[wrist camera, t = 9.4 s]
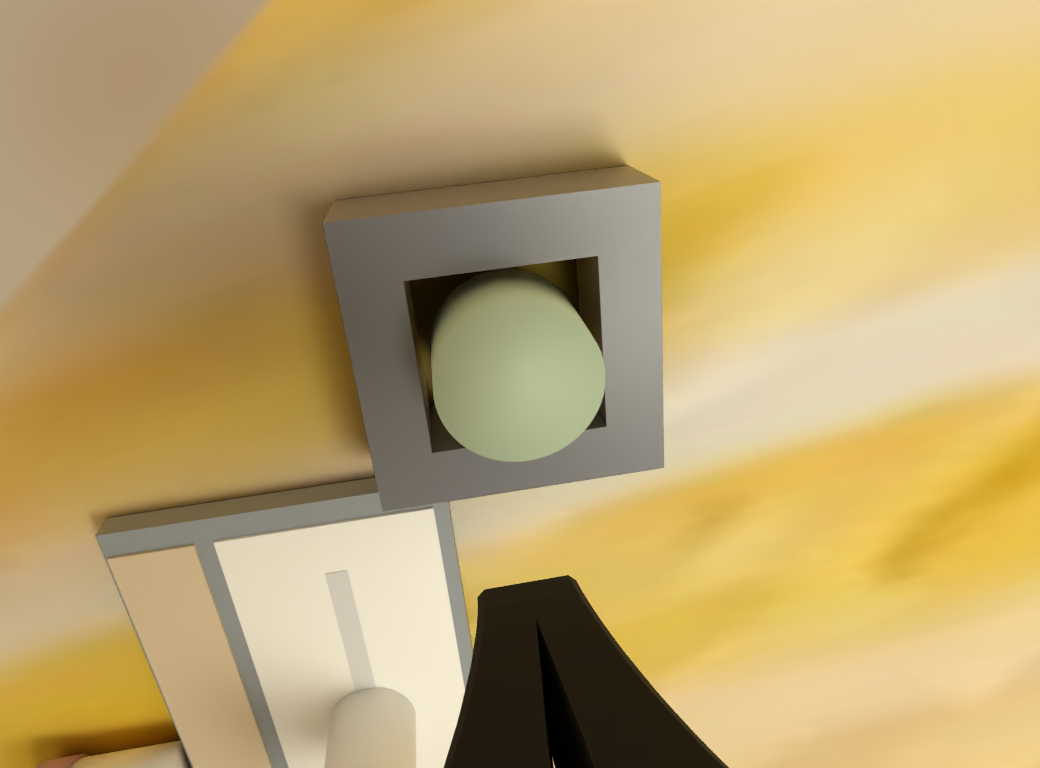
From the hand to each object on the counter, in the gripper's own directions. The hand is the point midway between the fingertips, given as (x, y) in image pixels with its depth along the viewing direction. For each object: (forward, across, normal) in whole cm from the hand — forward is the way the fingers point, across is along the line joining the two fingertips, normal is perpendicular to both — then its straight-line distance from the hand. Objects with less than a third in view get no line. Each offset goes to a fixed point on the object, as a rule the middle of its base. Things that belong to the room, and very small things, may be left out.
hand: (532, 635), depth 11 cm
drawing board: (+10, +6, +9) cm, 14 cm away
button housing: (+10, -1, -1) cm, 10 cm away
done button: (+8, -1, -1) cm, 8 cm away
